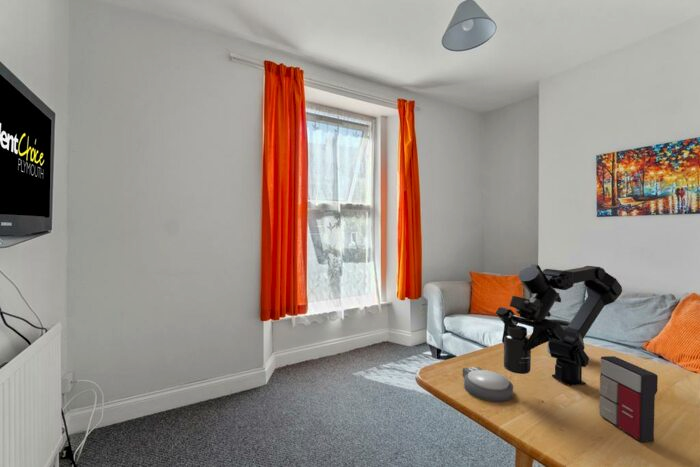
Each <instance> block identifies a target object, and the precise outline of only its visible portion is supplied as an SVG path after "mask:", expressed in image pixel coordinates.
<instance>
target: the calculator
mask: <svg viewBox="0 0 700 467" xmlns="http://www.w3.org/2000/svg"><path fill="white" fill-rule="evenodd" d="M658 379H659V378H658V375H657V374H656V373H655V372H652V371H649V370H647V369H645V368H642V367H640V366H638V365H636V364H633V363H631V362H628V361H627V360H624V359H622V358H619V357H617V356H614V355H611V356H610V355H609V356H607V355H606V356H600V375H599V401H598V403H599V404H598V407H599V408H598V411H599V412H598V414H599V415H600V416H601V417H602V418H604V419H605V420H607V421H608V422H610V423H611V424H613V425H614V426H616V427H617V428H619V429H620V430H622V431H624V432H625V433H627V434H628V435H630V436H631V437H632V438H634V439H635V440H637V441H639V442H640V443H649V442H651V443H652V442H654V439H655V403H656V402H655V400H656V398H655V396H656V394H657V393H658Z"/></svg>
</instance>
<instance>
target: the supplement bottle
mask: <svg viewBox="0 0 700 467" xmlns="http://www.w3.org/2000/svg"><path fill="white" fill-rule="evenodd" d="M508 333H509V334H508V335H506V336H505V337H504V343H503V367H504V369H505V370H507V371H509V372H510V373H514V374H519V375H527V374H530V372H531V367H532V366H531V363H532V360H531V359H532V358H531V356H532V354H531V353H532V349H531V350H529V351H527V352H525V351H524V350H523V349H524V347H525V344H526V343H527V341H528V339H529V338H530V337H529V338H528V328H527V327H526V326H523V325H518V324H517V325H509V326H508Z"/></svg>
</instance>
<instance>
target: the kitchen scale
mask: <svg viewBox="0 0 700 467" xmlns="http://www.w3.org/2000/svg"><path fill="white" fill-rule="evenodd" d="M462 377H463V380H464V381H463V388H464V389H465V392H467V393H468V394H470V395H471V396H473V397H475V398H477V399H480V400H483V401H488V402H496V403H497V402H498V403H499V402H500V403H502V402H508V401H510V400H511V399H513V396H514V385H513V383H512V382H511V381H510V380H509V379H508V378H507V377H506V376H505V375H503V374H500V373H498V372H495V371H491V370H486V369H485V370H484V369H482V368H481V367H479V366H478V367H477V366H476V367H473V366H472V367H469V366H468V367H463V368H462Z"/></svg>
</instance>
